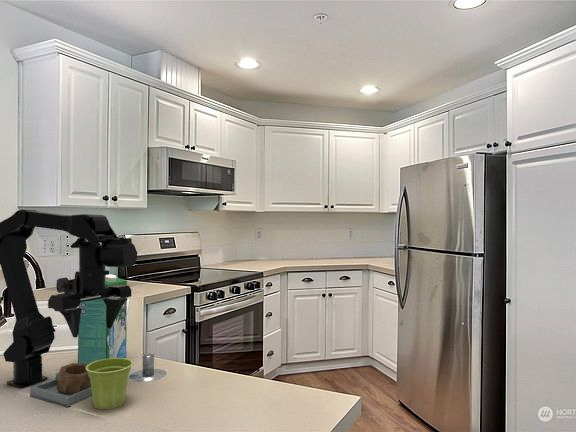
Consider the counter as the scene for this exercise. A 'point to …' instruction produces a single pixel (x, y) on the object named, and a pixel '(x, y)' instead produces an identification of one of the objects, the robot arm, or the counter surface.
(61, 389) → the ring
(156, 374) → the grey peg stand
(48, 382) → the tray
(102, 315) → the milk carton
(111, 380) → the plant pot
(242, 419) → the counter surface
